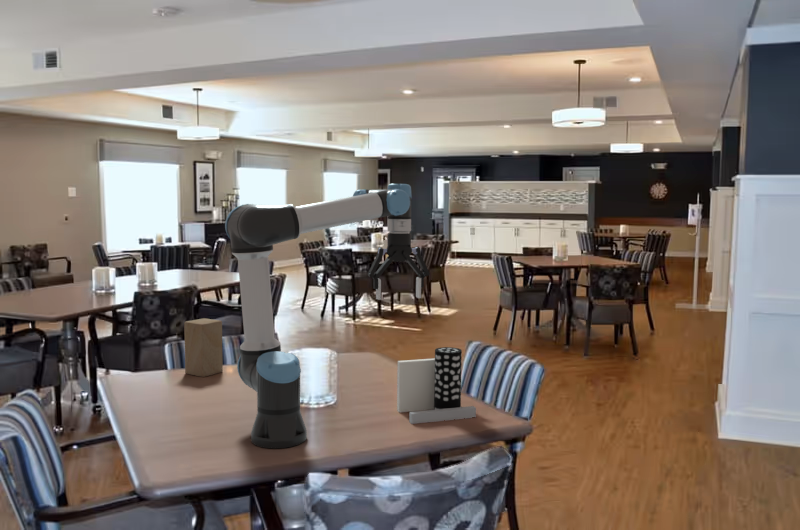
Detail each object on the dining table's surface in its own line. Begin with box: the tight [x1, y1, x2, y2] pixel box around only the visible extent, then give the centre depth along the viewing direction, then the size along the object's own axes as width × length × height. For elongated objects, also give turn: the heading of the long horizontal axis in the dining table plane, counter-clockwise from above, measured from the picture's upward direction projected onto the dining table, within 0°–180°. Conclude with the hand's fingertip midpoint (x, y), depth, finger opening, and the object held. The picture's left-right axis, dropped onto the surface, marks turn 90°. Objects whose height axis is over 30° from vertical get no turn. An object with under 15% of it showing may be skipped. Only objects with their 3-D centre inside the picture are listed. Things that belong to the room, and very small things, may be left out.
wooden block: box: [183, 317, 224, 378], centre depth 260 cm, size 10×10×20 cm
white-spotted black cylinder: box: [433, 346, 463, 410], centre depth 214 cm, size 8×8×20 cm
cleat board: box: [396, 357, 477, 425], centre depth 212 cm, size 21×14×16 cm, turn 109°
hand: (398, 298), depth 220 cm, fingers open, 13 cm apart
